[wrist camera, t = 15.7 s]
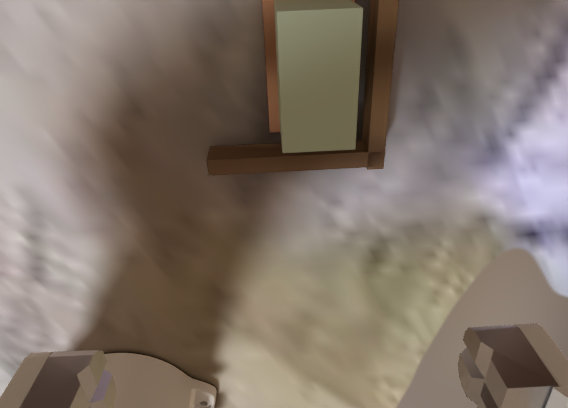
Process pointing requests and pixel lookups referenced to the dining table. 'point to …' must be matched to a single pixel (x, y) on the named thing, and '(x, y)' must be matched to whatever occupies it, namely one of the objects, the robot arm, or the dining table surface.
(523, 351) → the robot arm
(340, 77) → the sage block
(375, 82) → the brown flat wooden frame
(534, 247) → the dining table surface
